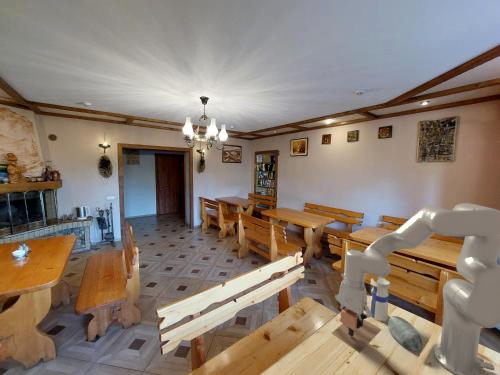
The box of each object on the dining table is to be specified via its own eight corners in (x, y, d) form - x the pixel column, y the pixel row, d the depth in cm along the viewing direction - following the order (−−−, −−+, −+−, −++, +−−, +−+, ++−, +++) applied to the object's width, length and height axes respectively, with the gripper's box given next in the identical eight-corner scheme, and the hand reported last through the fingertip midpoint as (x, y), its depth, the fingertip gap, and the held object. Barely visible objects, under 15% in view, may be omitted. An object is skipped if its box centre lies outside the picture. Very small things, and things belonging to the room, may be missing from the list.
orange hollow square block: (347, 316, 92) (348, 305, 92) (361, 324, 87) (362, 313, 87) (340, 321, 89) (341, 310, 88) (354, 330, 84) (355, 319, 83)
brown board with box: (354, 317, 102) (355, 302, 102) (381, 332, 93) (382, 316, 92) (331, 336, 90) (331, 320, 90) (359, 356, 81) (360, 338, 80)
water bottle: (363, 313, 105) (366, 265, 103) (378, 311, 106) (381, 264, 104) (376, 325, 97) (379, 273, 95) (392, 323, 98) (396, 272, 96)
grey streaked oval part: (433, 350, 80) (418, 324, 82) (410, 360, 80) (395, 334, 82) (411, 332, 93) (398, 309, 95) (391, 340, 94) (379, 318, 96)
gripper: (329, 275, 91) (327, 314, 93) (372, 294, 77) (368, 340, 79) (339, 270, 95) (337, 307, 97) (380, 288, 82) (377, 331, 83)
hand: (351, 321), depth 88 cm, fingers closed on orange hollow square block, 5 cm apart
